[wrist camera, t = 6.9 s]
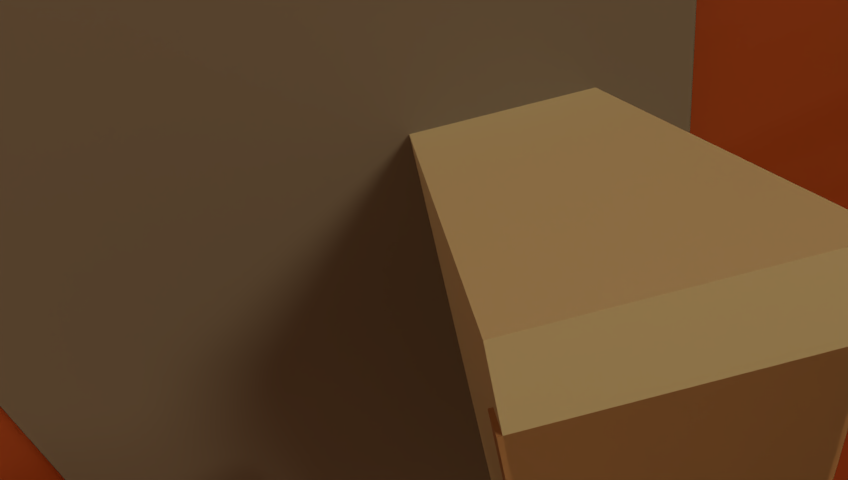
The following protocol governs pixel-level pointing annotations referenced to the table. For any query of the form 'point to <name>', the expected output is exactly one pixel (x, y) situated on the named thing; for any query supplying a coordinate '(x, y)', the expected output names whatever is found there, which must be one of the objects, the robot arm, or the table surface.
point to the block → (637, 298)
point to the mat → (265, 220)
